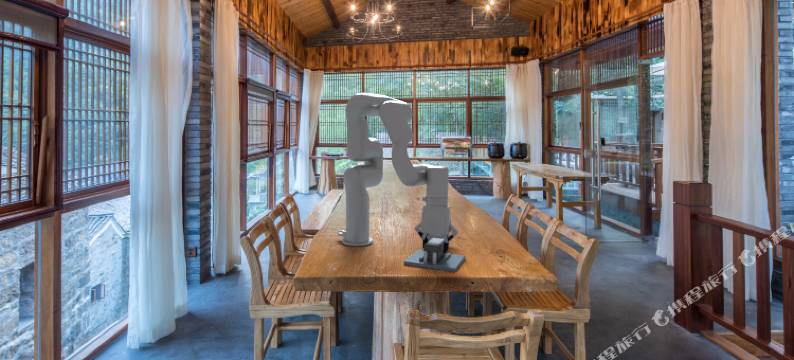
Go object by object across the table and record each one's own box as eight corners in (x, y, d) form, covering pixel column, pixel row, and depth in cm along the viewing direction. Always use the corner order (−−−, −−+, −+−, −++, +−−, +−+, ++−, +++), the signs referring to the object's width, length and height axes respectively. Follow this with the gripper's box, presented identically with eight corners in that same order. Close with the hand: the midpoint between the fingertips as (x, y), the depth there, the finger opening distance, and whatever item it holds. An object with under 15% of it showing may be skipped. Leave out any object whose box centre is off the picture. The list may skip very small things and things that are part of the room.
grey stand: (403, 264, 142) (404, 249, 141) (417, 252, 156) (418, 239, 155) (454, 271, 135) (455, 256, 135) (464, 258, 149) (465, 244, 148)
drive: (423, 261, 142) (424, 244, 141) (432, 253, 151) (432, 237, 150) (437, 263, 140) (438, 245, 139) (445, 255, 149) (446, 238, 148)
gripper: (409, 201, 143) (408, 251, 145) (458, 205, 136) (456, 257, 138) (416, 197, 149) (415, 245, 152) (463, 201, 143) (461, 251, 145)
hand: (435, 251), depth 145 cm, fingers open, 6 cm apart
